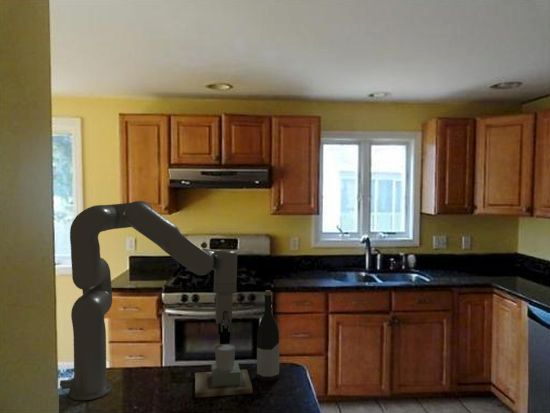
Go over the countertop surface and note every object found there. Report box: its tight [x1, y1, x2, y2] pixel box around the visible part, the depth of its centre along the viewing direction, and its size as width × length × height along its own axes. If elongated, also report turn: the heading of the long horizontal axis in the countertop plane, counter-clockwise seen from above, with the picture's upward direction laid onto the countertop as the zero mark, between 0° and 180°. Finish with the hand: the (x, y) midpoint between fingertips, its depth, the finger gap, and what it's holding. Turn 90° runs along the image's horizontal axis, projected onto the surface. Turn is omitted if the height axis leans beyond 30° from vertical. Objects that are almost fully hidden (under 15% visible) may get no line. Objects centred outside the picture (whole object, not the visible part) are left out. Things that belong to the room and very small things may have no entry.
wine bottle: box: [256, 289, 280, 382], centre depth 152 cm, size 8×8×30 cm
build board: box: [194, 368, 253, 398], centre depth 145 cm, size 18×16×2 cm
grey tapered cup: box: [214, 343, 236, 371], centre depth 145 cm, size 7×7×7 cm
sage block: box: [211, 361, 241, 386], centre depth 145 cm, size 9×9×4 cm
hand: (223, 338), depth 145 cm, fingers open, 9 cm apart
